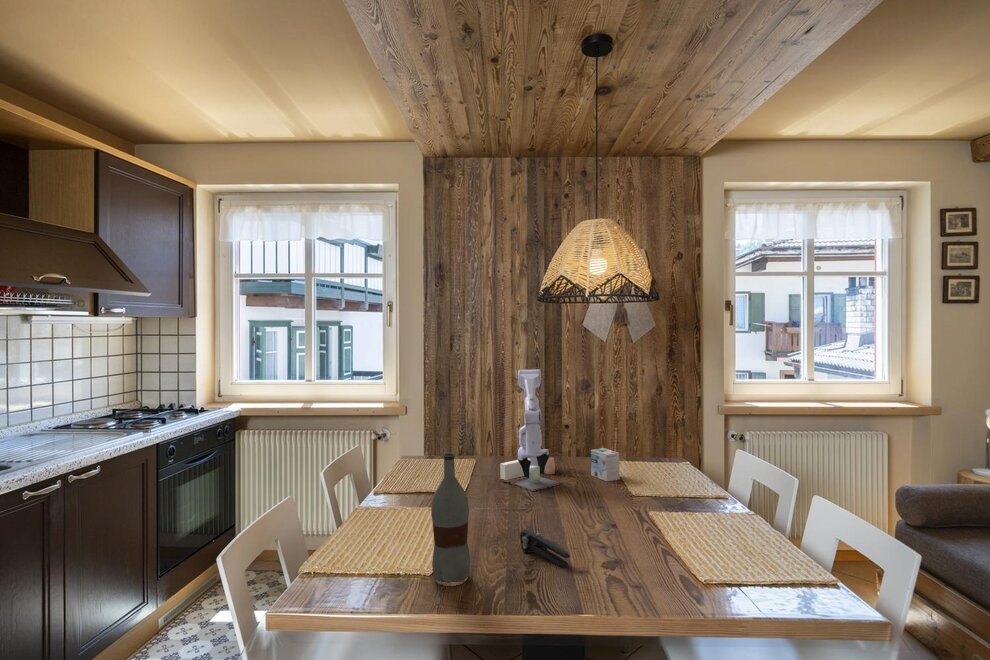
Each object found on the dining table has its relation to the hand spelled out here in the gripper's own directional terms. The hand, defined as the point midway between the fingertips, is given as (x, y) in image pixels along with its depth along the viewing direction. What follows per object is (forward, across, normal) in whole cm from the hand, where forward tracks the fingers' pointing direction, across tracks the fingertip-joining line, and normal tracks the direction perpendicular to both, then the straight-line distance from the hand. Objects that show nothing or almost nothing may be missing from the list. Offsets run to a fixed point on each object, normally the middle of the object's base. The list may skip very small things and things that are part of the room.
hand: (534, 475), depth 203 cm
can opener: (+4, -42, -51) cm, 66 cm away
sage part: (+3, 0, 0) cm, 3 cm away
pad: (+3, 0, 0) cm, 3 cm away
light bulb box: (+4, +28, -12) cm, 31 cm away
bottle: (+4, -68, -46) cm, 82 cm away
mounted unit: (+3, 0, +11) cm, 12 cm away
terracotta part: (+3, +16, +8) cm, 18 cm away
